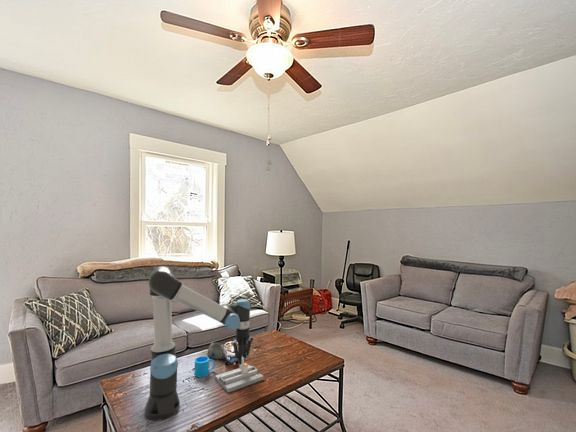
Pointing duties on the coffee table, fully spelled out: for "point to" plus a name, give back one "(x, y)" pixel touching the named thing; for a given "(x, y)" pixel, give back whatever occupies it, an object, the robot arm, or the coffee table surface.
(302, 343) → the coffee table surface
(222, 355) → the mineral rock
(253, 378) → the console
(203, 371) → the mug
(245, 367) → the fader tab
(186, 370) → the coffee table surface
